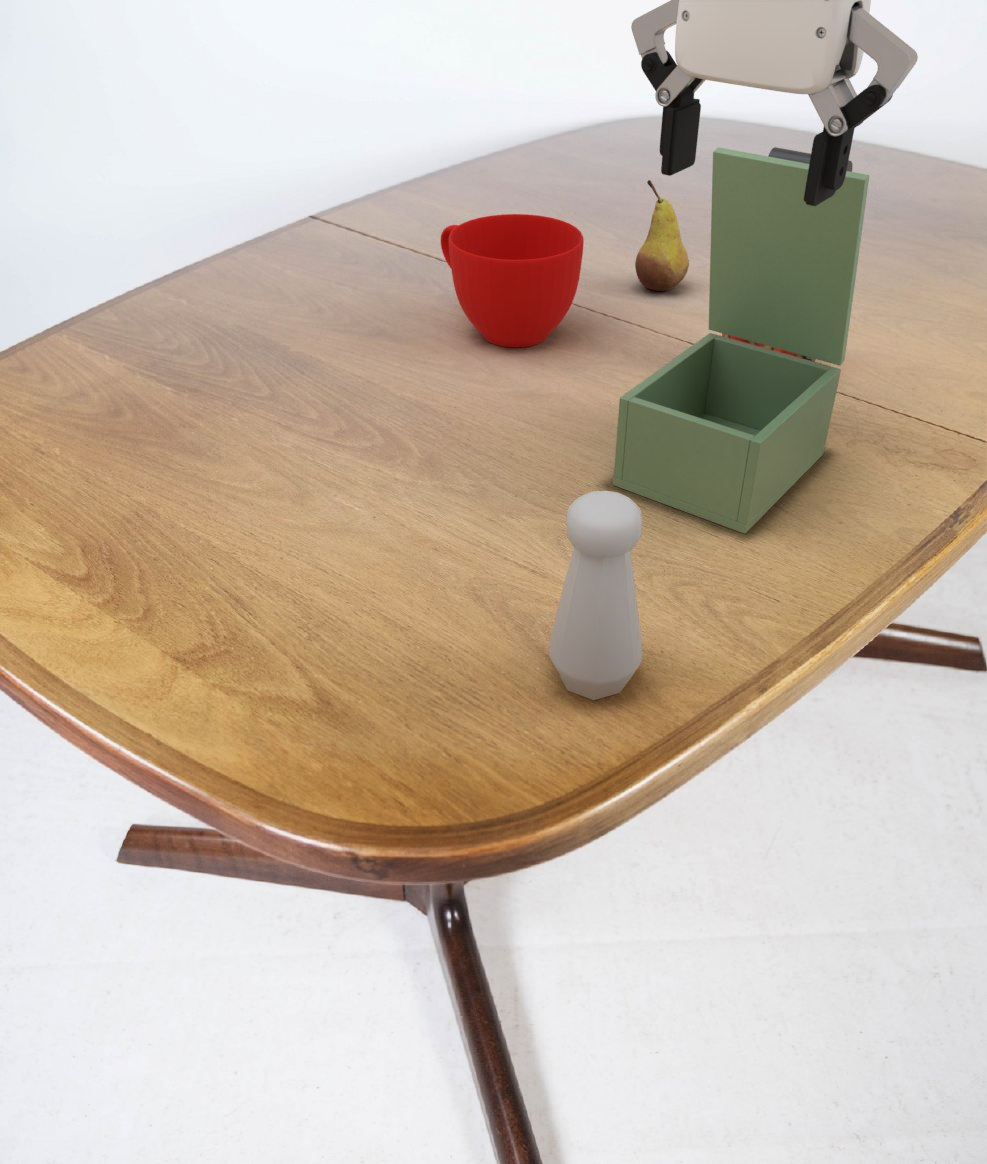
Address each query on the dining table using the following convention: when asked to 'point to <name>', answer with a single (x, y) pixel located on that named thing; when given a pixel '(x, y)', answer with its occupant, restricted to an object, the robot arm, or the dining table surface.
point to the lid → (783, 253)
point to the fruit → (662, 250)
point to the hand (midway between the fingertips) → (746, 184)
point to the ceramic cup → (514, 274)
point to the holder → (724, 429)
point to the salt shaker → (599, 598)
